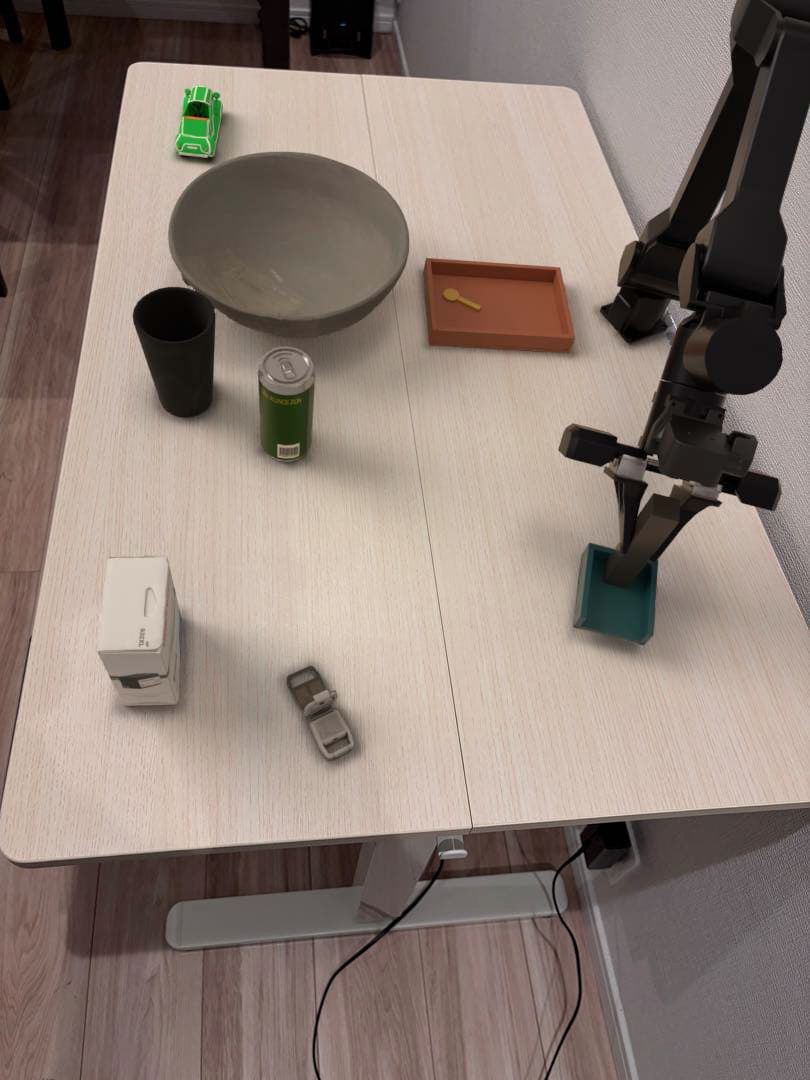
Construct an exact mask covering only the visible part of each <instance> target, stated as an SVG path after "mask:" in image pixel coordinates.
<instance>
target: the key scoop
mask: <svg viewBox="0 0 810 1080" xmlns="http://www.w3.org/2000/svg"><path fill="white" fill-rule="evenodd" d="M679 516H680V500H679V499H675V498H671V497H669V496H667V495H663V494H660V493H655V492H653V493H652V494H651V496H650V497H649V498H648V500H647V502H646V503H645V505H644V506H643V508H642V509H641V510H640V512H638V516H637V520H636V525H635V529H634V534H633V538H632V541H631V544H630V547H629V549H628V552H627V554H626V555H625V554H622V553H621V551H620V541H619V542H618V544H617V545H616V546H615V548H611V547H608V546H604V545H600V544H596V543H593V542H588V544H587V545H586V546H585V548H584V550H583V551H582V553H581V554H580V555H581V556H580V564H579V571H578V572H579V573H578V581H577V587H576V588H577V589H576V597H575V605H574V614H573V621H572V628H574V629H578V630H582V631H585V632H590V633H593V634H596V635H597V634H598V635H602V636H605V637H608V638H613V639H617V640H621V641H624V642H628V643H633V644H637V645H639V646H643V647H644V646H645V645H646V644H648V642H649V641H650V640H651V639H652V638H653V637H654V636H655V623H656V621H655V619H656V605H657V604H656V603H657V590H658V589H657V588H658V575H659V574H658V573H659V572H658V571H659V559H658V560H657V561H656V562H652V561H651V560H650V558H651V557H652V556H653V555H654V553H655V552H656V551H657V550H658V548H659V547H660V546H661V545H662V543H663V542H664V541H665V540H666V538H667V537H668V536H669V534H670V533H671V532H672V531H673V529H674V528H675V527H676V526H677V524H678V523H679Z"/></svg>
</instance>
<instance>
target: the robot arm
mask: <svg viewBox="0 0 810 1080" xmlns="http://www.w3.org/2000/svg"><path fill="white" fill-rule="evenodd" d="M728 35H729V37H728V38H729V50H730V51H729V52H730V64H731V65H730V66H731V71H730V73H729V75H728V78H727V80H726V82H725V84H724V87H723V89H722V90H721V94H720V95H719V97H718V100H717V102H716V104H715V107H714V108H713V111H712V113H711V115H710V118H709V120H708V122H707V124H706V126H705V129H704V131H703V133H702V135H701V137H700V140H699V142H698V144H697V146H696V149H695V151H694V153H693V155H692V157H691V160H690V162H689V164H688V167H687V168H686V170H685V173H684V175H683V177H682V180H681V181H680V184H679V186H678V188H677V191H676V192H675V195H674V197H673V200H672V201H671V204H670V206H668V207H667V208H666V209H664V210H663V211H661V212H659V213H658V214H657V215H655V216H654V217H652V218H651V219H649V220H648V221H647V222H646V224H645V227H644V229H643V231H642V233H641V234H640V237H639V239H638V240H635V239H634V240H633V241H631V242H630V243H628V244H626V245H625V246H624V250H623V252H622V255H621V258H620V260H619V264H618V273H617V283H616V287H619V288H620V289H619V291H618V292H617V293H616V295H615V297H614V300H613V302H610V303H607V304H604V305H602V306H600V308H599V312H600V313H601V315H602V316H603V317H604V318H605V320H607V322H608V323H609V324H610V325H611V327H613V329H615V331H616V332H617V333H618V334H619V335H620V337H621V338H622V339H623V340H624V341H625V342H626V343H627V344H629V345H632V344H636V343H638V342H641V341H643V340H646V339H649V338H651V337H654V336H657V335H658V334H659V335H660V334H662V333H665V332H667V331H668V329H669V326H668V324H667V323H666V321H664V320H663V319H662V318H663V316H664V314H665V312H666V310H667V308H668V307H669V305H670V303H671V301H672V300H673V301H677V302H679V308H680V309H683V310H686V311H691V312H692V313H691V314H690V315H689V316H686V317H685V318H683V319H682V320H681V321H680V323H679V324H678V326H676V329H675V333H674V335H673V338H672V342H671V345H670V349H669V351H668V354H667V358H666V361H665V364H664V367H663V370H662V373H661V377H660V380H659V383H658V386H657V389H656V390H655V391H654V393H653V395H652V396H653V397H652V399H651V403H652V405H651V408H650V411H649V414H648V417H647V420H646V424H645V426H644V429H643V433H642V435H640V437H639V439H638V443H637V446H633V445H630V444H626V443H621V442H618V436H616V435H615V434H613V433H611V432H609V431H604V430H601V429H597V428H594V427H589V426H586V425H581V424H578V423H575V422H572V423H571V424H569V425H568V426H566V427H565V428H564V431H563V433H562V435H561V439H560V442H559V445H558V449H557V451H558V452H559V453H560V454H561V455H562V456H563V457H565V458H567V459H569V460H572V461H576V462H581V463H583V464H587V465H591V466H595V467H600V468H602V467H604V466H605V467H604V468H603V473H604V474H605V475H606V476H608V477H609V478H610V479H611V480H613V484H614V489H615V496H616V501H617V512H618V531H619V534H618V535H619V542H620V551H621V553H622V554H625V555H626V554H627V552H628V549H629V547H630V544H631V541H632V538H633V534H634V529H635V525H636V520H637V516H638V515H639V513H640V512H639V511H640V507H641V502H642V499H643V497H644V495H645V493H646V490H647V489H648V487H649V483H648V482H647V481H645V480H644V476H645V472H646V471H647V472H651V473H654V474H657V475H662V476H664V477H667V478H670V479H672V480H673V479H674V480H681V481H682V482H681V484H680V485H679V484H675V483H674V484H673V485H672V487H671V488H672V489H671V491H670V494H669V496H668V497H671V498H675V499H679V500H680V516H679V523H678V524H677V526H676V527H675V528H674V529H673V531H672V532H671V533H670V534H669V536H668V537H667V538H666V540H665V541H664V542H663V543H662V545H661V546H660V547H659V548H658V550H657V551H656V552H655V553H654V555H653V556H652V557H651V558H650V560H651V561H652V562H656V561H657V560H658V561H659V559H660V557H661V556H662V555H663V554H664V552H665V551H666V549H667V548H668V547H669V546H670V545H671V544H672V542H673V541H674V540H675V538H676V537H678V535H679V533H680V532H681V531H682V530H683V529H684V527H685V526H687V524H688V523H689V522H690V521H691V520H692V519H693V518H694V517H695V516H696V515H698V514H700V513H701V512H702V511H704V510H706V509H707V508H708V507H714V508H720V507H721V506H722V504H723V502H722V501H721V500H719V495H720V494H721V493H722V494H727V495H730V496H733V497H734V496H735V497H737V499H738V501H739V503H741V504H743V505H747V506H751V507H755V508H759V509H763V510H766V511H770V512H776V510H777V507H778V505H779V502H780V499H781V496H782V495H783V494H782V484H781V481H780V479H779V477H776V476H773V475H770V474H768V473H765V472H763V471H760V470H756V469H752V468H751V466H752V464H753V461H754V458H755V454H756V451H757V448H758V445H759V441H758V438H757V437H756V435H754V434H750V433H747V432H742V431H739V430H732V431H730V433H726V432H723V424H724V421H725V418H726V411H727V408H724V406H725V402H726V399H727V397H728V395H733V396H746V395H752V394H755V393H758V392H759V391H762V390H763V389H765V388H766V387H767V386H769V385H770V384H771V383H772V382H773V381H774V380H775V378H776V377H777V376H778V374H779V372H780V370H781V369H782V365H783V361H784V357H783V351H784V350H783V344H782V340H781V338H780V335H779V334H778V332H777V331H779V329H780V328H781V326H782V321H783V320H784V318H785V317H786V315H787V314H788V310H787V297H786V287H785V284H786V283H785V273H786V272H785V266H784V265H783V264H784V263H783V262H784V258H785V254H786V251H787V250H786V249H787V245H788V239H789V238H788V236H789V235H788V233H787V230H786V226H785V223H784V220H783V218H782V217H783V216H782V213H781V208H782V204H783V200H784V195H785V192H786V190H787V189H786V188H787V186H788V182H789V178H790V175H791V172H792V168H793V166H794V161H795V158H796V155H797V151H798V147H799V144H800V141H801V137H802V135H803V130H804V127H805V124H806V121H807V117H808V114H809V110H810V0H736V1H735V3H734V6H733V10H732V13H731V17H730V31H729V34H728ZM721 199H722V201H721ZM720 202H721V204H720ZM719 204H720V206H719ZM718 206H719V210H718V212H717V214H715V216H714V213H715V212H716V210H717V208H718ZM648 456H649V457H648ZM654 456H656V457H657V459H656V458H651V457H654ZM606 465H609V466H606Z"/></svg>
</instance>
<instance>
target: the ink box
mask: <svg viewBox="0 0 810 1080" xmlns="http://www.w3.org/2000/svg"><path fill="white" fill-rule="evenodd" d="M182 618H183V617H182V614H181V610H180V606H179V601H178V597H177V591H176V588H175V584H174V579H173V575H172V571H171V565H170V561H169V558H168V556H167V555H165V554H163V555H162V554H159V555H157V554H155V555H151V554H150V555H116V556H107V560H106V568H105V576H104V584H103V592H102V601H101V610H100V618H99V627H98V636H97V645H96V649H97V650H96V653H97V655H98V656H99V659H100V661H101V662H102V665H103V666H104V669H105V671H106V673H107V675H108V677H109V679H110V681H111V683H112V686H113V688H114V689H115V692H116V693H117V696H118V698H119V700H120V702H121V704H122V706H124V707H126V706H128V707H129V706H131V707H132V706H133V707H134V706H166V705H167V706H169V705H173V706H174V705H177V704H178V703H179V697H180V672H181V650H182V649H181V648H182V627H183V624H182V623H183V619H182Z"/></svg>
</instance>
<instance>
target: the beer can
mask: <svg viewBox="0 0 810 1080" xmlns="http://www.w3.org/2000/svg"><path fill="white" fill-rule="evenodd" d="M257 382H258V383H257V384H258V385H257V387H258V389H257V390H258V417H259V440H260V447H261V448H262V450H263V451H264V452H265V454H266V455H267V456H269V457H270V458H271V459H273V460H275V461H277V462H281V463H293V462H295V461H298V460H300V459H301V458H303V457H304V456H305V455H306V454H307V453H308V451H309V450H310V449H311V445H312V441H313V426H314V407H315V406H314V405H315V390H316V389H315V387H316V372H315V368H314V365H313V361H312V359H311V357H310V356H309V355H308V354H307V353H306V352H304V350H301V349H299V348H297V347H293V346H278V347H275V348H272V349H270V350H269V351H267V352H266V353H264V355H263V356H262V358H261V360H260V363H259V367H258V369H257Z"/></svg>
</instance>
